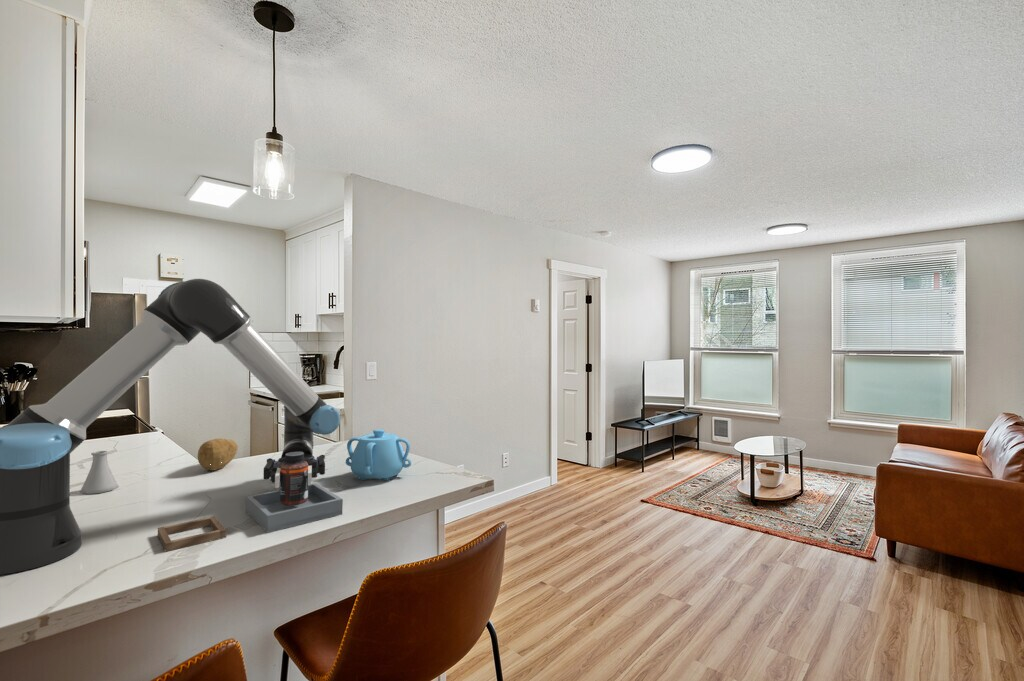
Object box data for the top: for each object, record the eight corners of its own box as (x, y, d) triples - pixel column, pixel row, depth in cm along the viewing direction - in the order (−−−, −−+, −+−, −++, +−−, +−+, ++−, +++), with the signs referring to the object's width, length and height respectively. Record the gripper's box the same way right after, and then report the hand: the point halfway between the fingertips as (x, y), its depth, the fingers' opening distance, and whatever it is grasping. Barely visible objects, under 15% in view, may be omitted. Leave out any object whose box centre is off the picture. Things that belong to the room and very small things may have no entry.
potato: (245, 461, 156) (245, 432, 156) (219, 474, 141) (219, 442, 141) (217, 461, 156) (217, 432, 156) (188, 474, 140) (188, 442, 140)
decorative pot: (342, 473, 144) (342, 428, 144) (393, 465, 154) (393, 422, 154) (359, 487, 131) (360, 437, 131) (415, 478, 140) (415, 431, 140)
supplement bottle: (313, 501, 113) (314, 452, 113) (290, 508, 108) (291, 457, 107) (297, 496, 116) (298, 449, 116) (274, 503, 111) (274, 454, 110)
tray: (267, 532, 100) (267, 515, 100) (246, 511, 112) (246, 496, 112) (342, 514, 111) (342, 499, 111) (315, 496, 123) (315, 483, 123)
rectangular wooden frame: (165, 551, 91) (165, 543, 91) (157, 535, 98) (157, 528, 98) (225, 537, 98) (225, 529, 98) (214, 522, 105) (214, 516, 105)
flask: (124, 486, 129) (125, 449, 129) (99, 495, 122) (99, 455, 122) (100, 485, 129) (100, 448, 129) (73, 494, 122) (73, 454, 122)
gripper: (334, 466, 132) (338, 492, 110) (257, 473, 125) (244, 502, 103) (335, 439, 132) (339, 459, 110) (257, 444, 125) (245, 467, 103)
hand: (293, 480), depth 107 cm, fingers closed on supplement bottle, 6 cm apart
